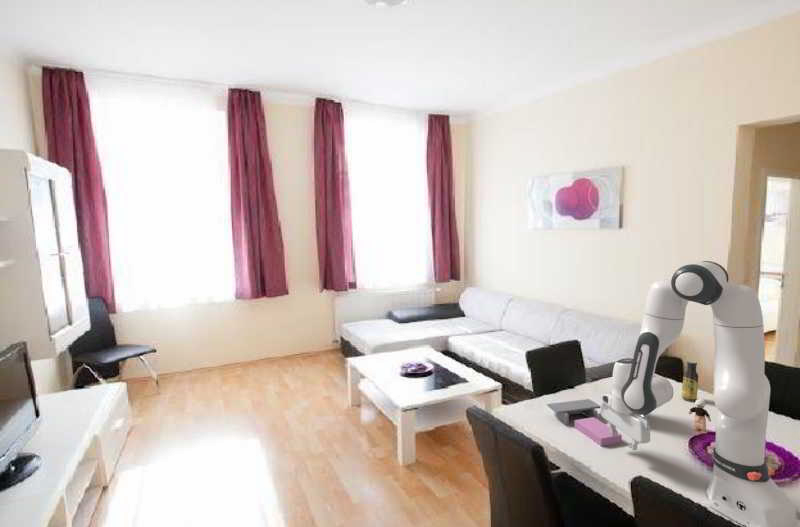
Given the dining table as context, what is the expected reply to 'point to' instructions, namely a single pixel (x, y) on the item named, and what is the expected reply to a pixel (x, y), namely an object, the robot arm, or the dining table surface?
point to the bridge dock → (574, 409)
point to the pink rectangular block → (597, 431)
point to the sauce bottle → (690, 382)
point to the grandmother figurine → (700, 415)
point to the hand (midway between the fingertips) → (623, 441)
